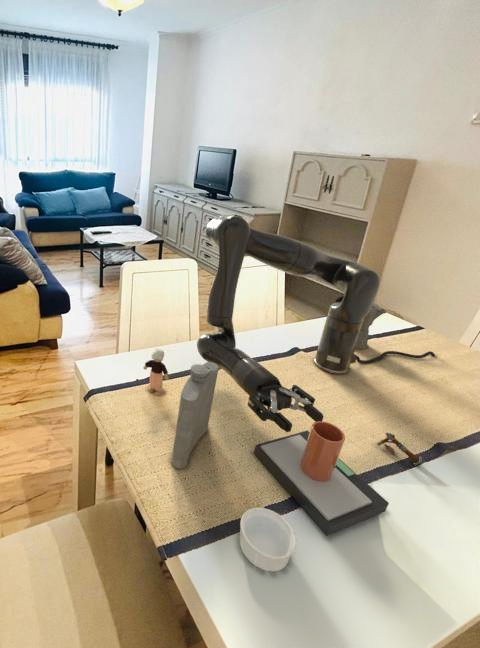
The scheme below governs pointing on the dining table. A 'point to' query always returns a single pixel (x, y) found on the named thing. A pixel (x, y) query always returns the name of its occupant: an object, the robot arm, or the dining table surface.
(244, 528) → the ramekin
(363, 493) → the scale
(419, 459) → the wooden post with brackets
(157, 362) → the grandmother figurine
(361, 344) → the coffeepot
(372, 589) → the dining table surface
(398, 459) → the dining table surface
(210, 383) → the hip flask
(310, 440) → the tumbler
